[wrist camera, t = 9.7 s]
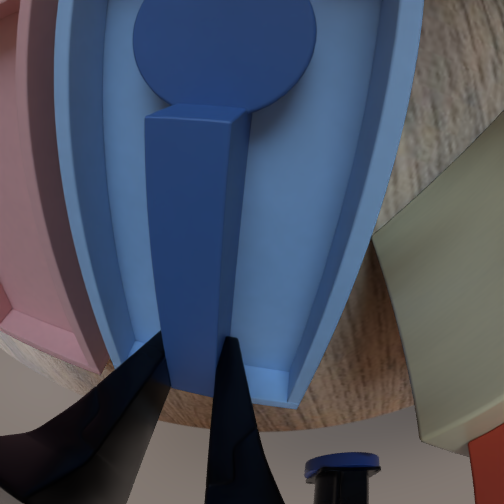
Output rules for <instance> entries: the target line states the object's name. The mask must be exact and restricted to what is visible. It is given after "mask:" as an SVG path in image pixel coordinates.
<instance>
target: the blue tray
mask: <svg viewBox="0 0 504 504" xmlns="http://www.w3.org/2000/svg"><path fill="white" fill-rule="evenodd" d="M143 1H144V0H59V1H58V10H57V19H56V31H55V47H54V106H55V123H56V136H57V146H58V155H59V164H60V171H61V178H62V185H63V191H64V197H65V202H66V208H67V213H68V218H69V223H70V228H71V232H72V237H73V241H74V245H75V249H76V254H77V257H78V261H79V265H80V269H81V272H82V276H83V280H84V283H85V286H86V290H87V293H88V296H89V300H90V303H91V306H92V309H93V312H94V315H95V318H96V321H97V324H98V327H99V329H100V332H101V335H102V338H103V340H104V343H105V346H106V348H107V351H108V353H109V356H110V358H111V361H112V363H113V366H114V368H115V369H116V368H117V367H119V366H120V365H121V364H122V363H123V362H124V361H126V360H127V359H128V358H129V357H130V356H131V355H132V354H134V353H135V352H136V351H137V350H138V349H139V348H141V347H142V346H143V345H144V344H145V343H146V342H147V341H149V340H150V339H151V338H152V337H153V336H154V335H156V334H157V333H158V332H159V331H160V330H161V327H160V321H159V314H158V307H157V300H156V293H155V285H154V277H153V268H152V259H151V249H150V238H149V226H148V213H147V197H146V177H145V138H144V119H145V116H147V115H149V114H152V113H154V112H157V111H159V110H162V109H164V108H167V107H170V105H169V104H167V103H166V102H165V101H163V100H162V99H160V98H159V97H158V96H157V95H156V94H155V93H154V92H153V91H152V90H151V89H150V87H149V86H148V85H147V84H146V82H145V81H144V79H143V77H142V76H141V74H140V72H139V69H138V67H137V65H136V61H135V58H134V53H133V45H132V43H133V29H134V23H135V20H136V16H137V13H138V11H139V9H140V6H141V4H142V3H143ZM310 2H311V4H312V7H313V10H314V13H315V17H316V26H317V37H316V45H315V49H314V53H313V56H312V59H311V61H310V64H309V66H308V67H307V69H306V71H305V73H304V75H303V76H302V77H301V79H300V80H299V81H298V83H297V84H296V85H295V86H294V87H293V88H292V89H291V90H290V91H289V92H288V93H287V94H285V95H284V96H283V97H282V98H280V99H279V100H278V101H276V102H274V103H273V104H271V105H270V106H268V107H266V108H263V109H261V110H259V111H257V112H254V113H252V120H251V129H250V138H249V148H248V157H247V166H246V176H245V185H244V195H243V205H242V215H241V225H240V235H239V245H238V255H237V266H236V276H235V287H234V298H233V309H232V320H231V331H230V336H231V337H237V338H238V340H239V344H240V349H241V354H242V359H243V363H244V368H245V373H246V378H247V382H248V387H249V392H250V396H251V401H252V403H254V404H260V405H267V406H274V407H282V408H290V409H297V408H298V406H299V404H300V402H301V400H302V398H303V396H304V394H305V392H306V390H307V388H308V386H309V384H310V382H311V380H312V378H313V376H314V374H315V372H316V370H317V368H318V366H319V364H320V361H321V359H322V357H323V355H324V353H325V351H326V349H327V346H328V344H329V342H330V340H331V337H332V335H333V333H334V331H335V328H336V326H337V324H338V321H339V319H340V317H341V314H342V312H343V310H344V307H345V305H346V302H347V300H348V297H349V295H350V292H351V290H352V287H353V285H354V282H355V280H356V277H357V275H358V272H359V269H360V267H361V264H362V261H363V258H364V256H365V253H366V250H367V247H368V245H369V242H370V239H371V236H372V233H373V230H374V227H375V224H376V221H377V218H378V215H379V212H380V209H381V206H382V202H383V199H384V196H385V193H386V189H387V186H388V183H389V179H390V176H391V172H392V168H393V165H394V161H395V157H396V154H397V150H398V146H399V142H400V138H401V134H402V130H403V126H404V121H405V117H406V113H407V108H408V103H409V99H410V94H411V89H412V83H413V78H414V73H415V67H416V61H417V55H418V48H419V41H420V34H421V26H422V17H423V8H424V0H310Z"/></svg>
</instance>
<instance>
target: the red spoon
mask: <svg viewBox="0 0 504 504" xmlns="http://www.w3.org/2000/svg"><path fill="white" fill-rule="evenodd" d="M468 451H469V457H470V463H471V470H472V477H473V486H474V495H475V504H504V423H503V424H501V425H500V426H498V427H496V428H494V429H493V430H491V431H489V432H487V433H485V434H483V435H481V436H480V437H478V438H476V439H474V440H472V441H470V442H469V443H468Z"/></svg>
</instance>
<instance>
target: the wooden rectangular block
mask: <svg viewBox="0 0 504 504" xmlns="http://www.w3.org/2000/svg"><path fill="white" fill-rule="evenodd" d="M371 239H372V242H373V245H374V248H375V251H376V254H377V257H378V260H379V263H380V266H381V270H382V273H383V276H384V279H385V283H386V286H387V289H388V293H389V296H390V300H391V303H392V307H393V310H394V314H395V318H396V322H397V326H398V330H399V334H400V338H401V342H402V346H403V350H404V355H405V359H406V364H407V368H408V373H409V378H410V383H411V388H412V394H413V399H414V405H415V411H416V417H417V424H418V431H419V438H420V440H421V442H424V443H426V444H429V445H432V446H435V447H438V448H441V449H444V450H447V451H451V452H454V453H457V454H460V455H464V456H467V457H469V451H468V443H469V442H470V441H472V440H474V439H476V438H478V437H480V436H481V435H483V434H485V433H487V432H489V431H491V430H493V429H494V428H496V427H498V426H500V425H501V424H503V423H504V111H503V112H502V113H501V114H500V115H499V116H498V117H497V118H496V119H495V120H494V121H493V123H492V124H491V125H490V126H489V127H488V128H487V129H486V130H485V131H484V132H483V133H482V134H481V135H480V136H479V137H478V138H477V139H476V140H475V141H474V142H473V143H472V144H471V145H470V146H469V147H468V148H467V149H466V150H465V151H464V152H463V153H462V154H461V155H460V156H459V157H458V158H457V159H456V160H455V161H454V162H453V163H452V164H451V165H450V166H449V167H448V168H447V169H446V170H445V171H444V172H442V173H441V174H440V175H439V176H438V177H437V178H436V179H435V180H434V181H433V182H432V183H431V184H430V185H429V186H428V187H427V188H425V189H424V190H423V191H422V192H421V193H420V194H419V195H418V196H417V197H416V198H415V199H413V200H412V201H411V202H410V203H409V204H408V205H407V206H406V207H405V208H403V209H402V210H401V211H400V212H399V213H398V214H397V215H396V216H394V217H393V218H392V219H391V220H390V221H389V222H388V223H387V224H385V225H384V226H383V227H382V228H381V229H380V230H378V231H377V232H376V233H375V234H374V235H373V236H372V237H371Z"/></svg>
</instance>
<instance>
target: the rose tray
mask: <svg viewBox="0 0 504 504" xmlns="http://www.w3.org/2000/svg"><path fill="white" fill-rule="evenodd" d="M58 1H59V0H0V331H2V332H4V333H6V334H8V335H10V336H11V337H13V338H15V339H17V340H19V341H21V342H23V343H25V344H27V345H30V346H32V347H34V348H36V349H38V350H40V351H42V352H45V353H47V354H49V355H51V356H54V357H56V358H58V359H61V360H63V361H65V362H68V363H70V364H73V365H75V366H78V367H80V368H83V369H85V370H88V371H91V372H93V373H96V374H99V375H101V374H102V372H103V370H104V368H105V366H106V364H107V362H108V360H109V358H110V356H109V353H108V351H107V348H106V346H105V343H104V340H103V338H102V335H101V332H100V329H99V327H98V324H97V321H96V318H95V315H94V312H93V309H92V306H91V303H90V300H89V296H88V293H87V290H86V286H85V283H84V280H83V276H82V272H81V269H80V265H79V261H78V257H77V254H76V249H75V245H74V241H73V237H72V232H71V228H70V223H69V218H68V213H67V208H66V202H65V197H64V191H63V185H62V178H61V171H60V164H59V155H58V146H57V136H56V123H55V106H54V47H55V31H56V19H57V10H58Z"/></svg>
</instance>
